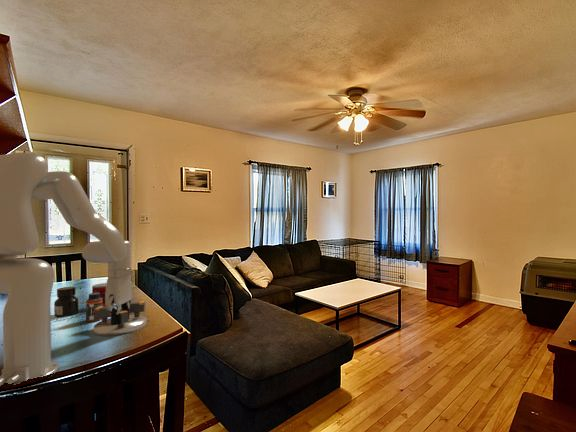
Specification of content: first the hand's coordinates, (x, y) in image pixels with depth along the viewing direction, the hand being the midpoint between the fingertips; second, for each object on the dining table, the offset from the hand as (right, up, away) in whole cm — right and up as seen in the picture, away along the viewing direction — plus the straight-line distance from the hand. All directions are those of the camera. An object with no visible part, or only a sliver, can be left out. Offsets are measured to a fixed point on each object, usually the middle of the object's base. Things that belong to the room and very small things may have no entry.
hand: (120, 321), depth 109 cm
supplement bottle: (-20, -5, +15) cm, 25 cm away
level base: (-3, -4, +6) cm, 8 cm away
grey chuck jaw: (0, -2, 0) cm, 2 cm away
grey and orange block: (0, -2, +11) cm, 11 cm away
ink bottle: (-38, -6, +24) cm, 46 cm away
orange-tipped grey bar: (-9, -2, +6) cm, 11 cm away
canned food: (-29, -6, +35) cm, 46 cm away
